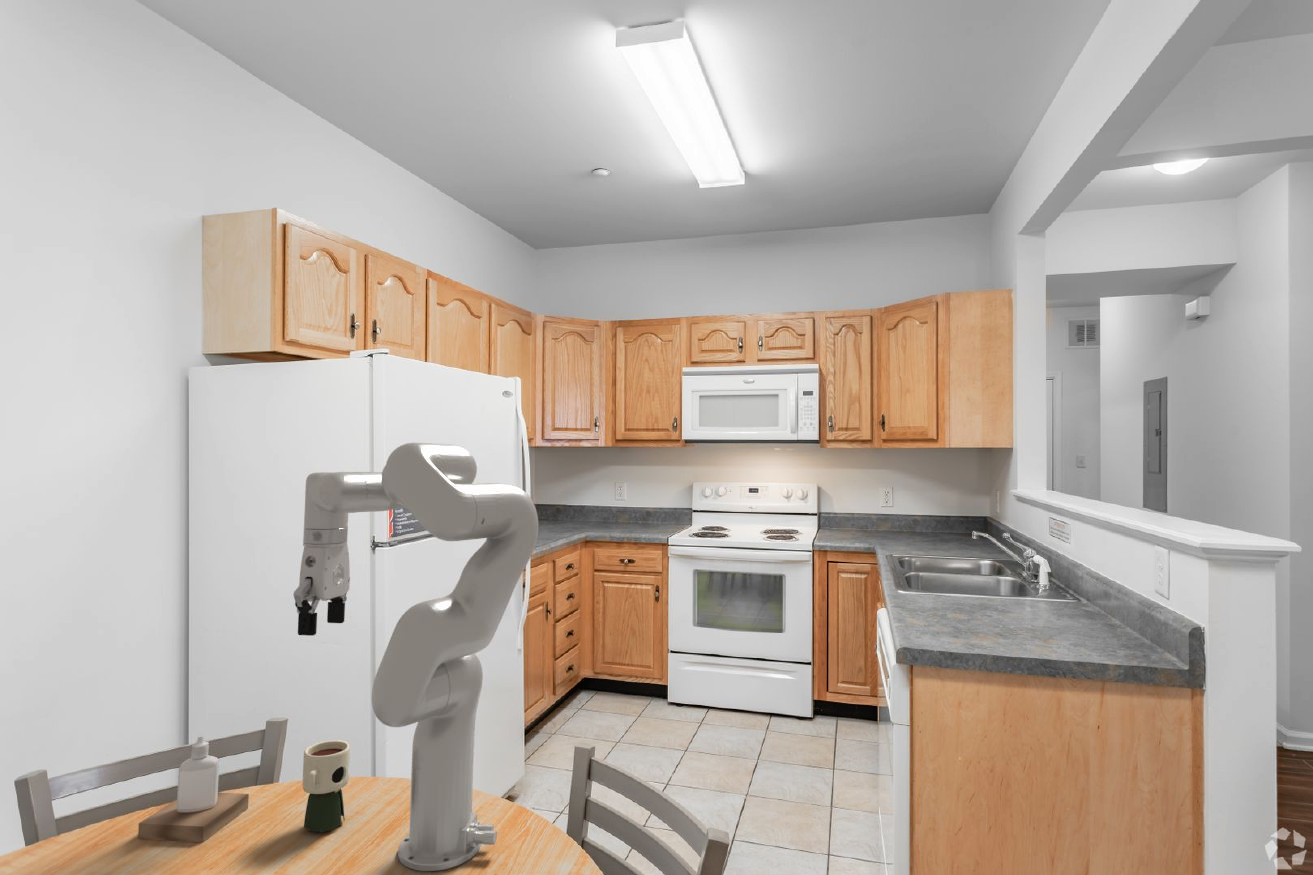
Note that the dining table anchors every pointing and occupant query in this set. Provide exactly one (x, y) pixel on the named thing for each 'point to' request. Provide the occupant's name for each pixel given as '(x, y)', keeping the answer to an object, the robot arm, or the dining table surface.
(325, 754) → the character mug
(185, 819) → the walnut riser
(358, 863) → the dining table surface
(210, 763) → the eye dropper bottle
